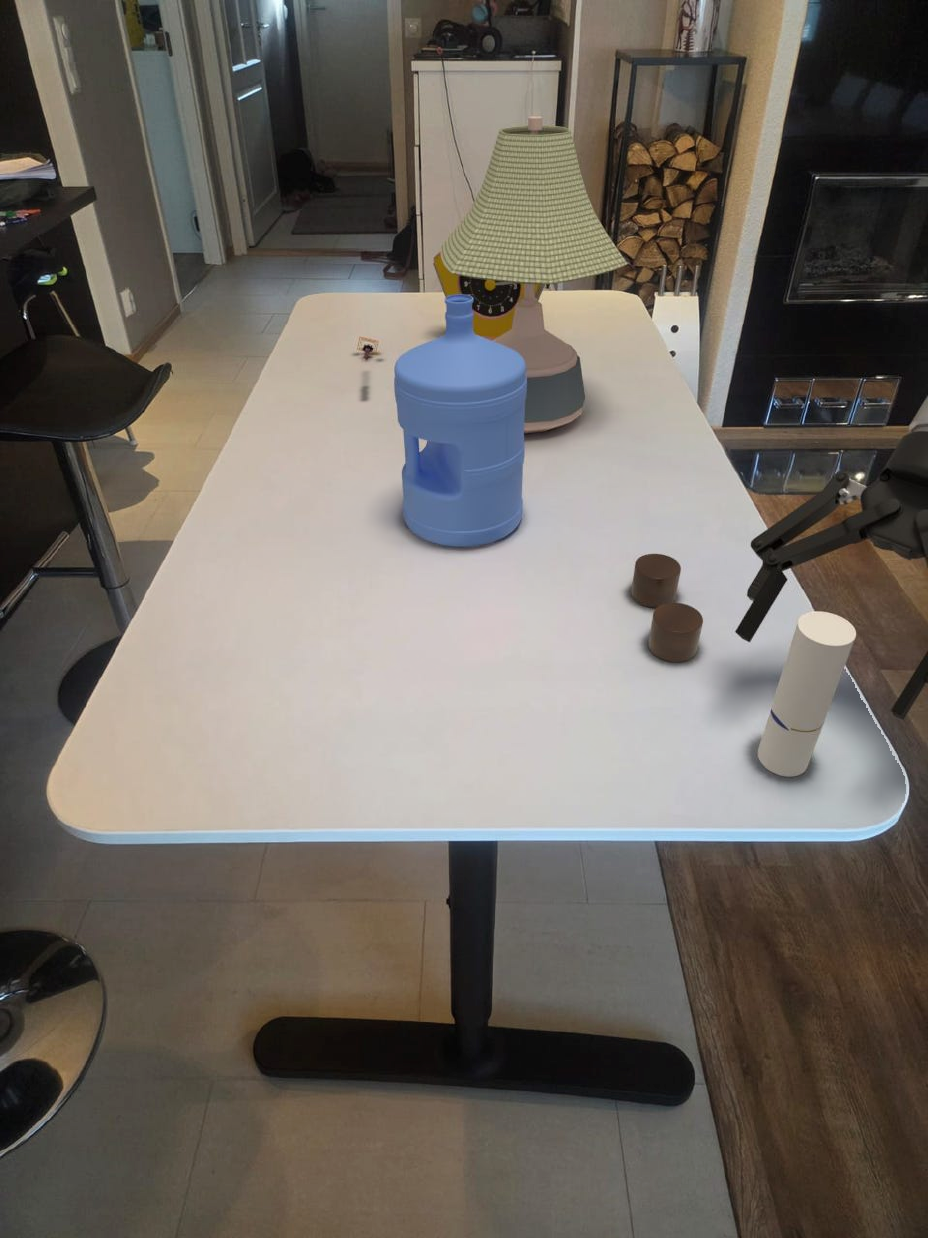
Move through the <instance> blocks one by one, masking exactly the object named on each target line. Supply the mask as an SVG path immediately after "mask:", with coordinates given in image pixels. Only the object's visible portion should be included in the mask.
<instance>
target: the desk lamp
mask: <svg viewBox="0 0 928 1238" xmlns="http://www.w3.org/2000/svg"><path fill="white" fill-rule="evenodd" d="M578 159H579V158H578V155H577V151H576V146H575V142H574V137H573V134H572V130H571V129H569V128H567V127H564V126H557V125H543V117H542V116H528V118H527V125H518V126H509V127H503V128H500V129H499V130H498V133H497V136H496V140H495V143H494V146H493V150H492V154H491V156H490V160H489V163H488V167H487V170H486V173H485V176H484V178H483V181H482V184H481V187H480V190H479V192H478V194H477V195H476V198H475V199H474V201H473V203H472V205H471V207H470V209H469V210H468V211H467V213H466V214H465V215H464V217H463V219H462V220H461V221H460V223H459V224H458V225H457V226H456V228H455V229H454V230H453V232H452V233H451V234H450V235H449V237H448V238H446V240H445V241H444V242H443V244H442V245H441V246H440V251H441V258H442V261H443V263H444V265H445V267H446V268H447V269H448V270H449V271H450V272H451V273H452V274H454V275H460V276H465V277H471V278H477V279H485V280H493V281H502V282H513V283H523V284H524V297H523V298H521V302H518V303H517V304H516V307H515V313H514V318H513V324H512V329H511V330H509V331H508V332H506V333H504V334H503V335H501V336H499V337H498V338H496V339H494V340H493V341H494V342H496V343H499V344H502V345H504V346H507V347H509V348H511V349H513V350H515V351H516V352H518V353H519V354H520V355H521V356H522V357H523V359H524V361H525V363H526V376H527V394H526V400H525V418H524V434H533V433H543V432H546V431H550V430H552V429H556V428H559V427H562V426H565V425H567V424H569V423H571V422H573V421H574V420H576V419H577V418H578V417H579V416H581V415H582V413H583V410H584V405H585V400H586V393H585V385H584V379H583V371H582V364H581V363H582V362H581V357H580V356H579V355H578V352H577V350H576V349H575V348H574V347H573V346H572V345H571V344H569V343H567V342H565V341H564V340H562V339H560V338H559V337H558V336H556V335H554V334H552V333H551V332H549V331H548V330H547V329H546V327H545V319H544V311H543V310H544V309H543V304H542V302H540V301H538V302H537V298H535V284H545V285H555V284H562V283H568V282H573V281H578V280H581V279H586V278H591V277H595V276H598V275H602V274H607V273H610V272H612V271H615V270H618V269H621V268H625V267H626V266H627V265H628V262H627V261H626V259H625V258H624V257H623V255H622V253H621V251H620V250H619V249H618V247H617V246H616V245H615V243H614V242H613V240H612V239H611V237H610V236H609V234H608V233H607V231H606V229H605V228H604V226H603V224H602V222H601V221H600V219H599V217H598V216H597V214H596V212H595V210H594V207H593V205H592V202H591V200H590V197H589V196H588V192H587V189H586V186H585V183H584V179H583V176H582V173H581V169H580V164H579V160H578Z"/></svg>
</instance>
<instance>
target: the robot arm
mask: <svg viewBox="0 0 928 1238" xmlns="http://www.w3.org/2000/svg"><path fill="white" fill-rule="evenodd" d="M855 500H858V501H859V502H860V505H861V506H860V507H861V511H860V512H857V513H855V514H852V515H850V516H848V517H846V518H845V519H843V520H842V521H841V522H839V523H837V524H834V525H833V526H830V527H826V528H825V529H822V530H820V531H817V532H814V533H813V534H811V535H808V536H805V537H803V538H801V539H798V540H796V541H794V542H792V541H793V540H794V539H796V538H797V537H799V536H800V535H802V534H803V533H805V532H806V531H807V530H809V529H811V528H812V527H813V526H815V525H816V524H818V523H819V522H820V521H822V520H823V519H825V518H826V517H828V516H829V515H831V514H832V513H833V512H834V511H836V510H837V509H838V508H839V507H840V506H841V505H842V506H845V505H848V504H850V503H851V502H853V501H855ZM866 540H869V542H870V543H872V545H873V547H875V548H878V549H880V550H883V551H890V552H894V553H895V554H897V555H898V556H900V557H901V558H903V559H906V560H909V561H912V560H918V559H919V560H921V559H924V560H925V564H926V568H927V569H928V395H926V398H925V399H924V401H923V403H922V404H921V406H920V407H919V409H918V410H917V412H916V413H915V416H914V417H913V418H912V420H911V422H910V424H909V425H908V433H907V434H905V435H904V436H902V437H901V439H900V441H899V442H898V444H897V445H896V447H895V448H894V451H893V452H892V454H891V456H890V457H889V458H888V461H887V462H886V464H885V465H884V466H883V468H882V470H881V472H880V474H879V475H878V478H877V479H876V480H874V481H873V482H872V483H871V484H869V485H868V486H867V485H865V484H863V483H860V482H858V481H856V480H854V479H852V478H850V475H849V473H848V472H847V471H845V470H839V471H837V472H836V473H835V474H834V475H833V476H832V477H831V479H830V480H829V482H827V484H826V485H825V487H824V488H823V489H822V490H821V491H820V492H818V493H816V494H815V495H814V496H813V497H811V498H809V499H808V500H807V501H805V502H804V503H802V504H801V505H800V506H799V507H797V508H795V509H794V510H793V511H790V513H788V514H787V515H785V516H784V517H782V518H781V519H780V520H778V521H777V522H776V523H774V524H773V525H771V526H770V527H769V528H767V529H765V530H764V531H763V532H761V533H760V534H758V535H757V536H755V537H754V538H753V539H752V540H751V541H750V547H751V549H752V551H753V552H754V553H755V555H756V556H757V557H758V558H759V559H760V560H761V561H762V565H761V567H760V569H759V570H758V571H757V574H756V575H755V577H754V578H753V580H752V582H751V583H750V584H749V587H748V588H747V590H746V591H747V592H746V597H747V598H748V599H749V600H750V601H752V603H751V604H750V605H749V608H748V609H747V610H746V613H745V614H744V616H743V617H742V619H741V621H740V623H739V624H738V626H737V628H736V629H735V631H734V632H735V633H736V635H738V637H740V638H741V639H742V640H744V641H745V642H748V643H751V642H752V639H753V638H754V636H755V634H756V633H757V632H758V629H759V628H760V627H761V624H762V623H763V621H764V620H765V618H766V617H767V616H768V615H767V614H768V613H769V611H770V610H771V608H772V606H773V605H774V603H775V601H776V600H777V598H778V597H779V595H780V593H781V591H782V589H783V588H784V586H785V585H786V583H787V581H788V578H787V576H786V575H785V573H784V571H787V570H789V569H792V568H794V567H797V566H800V565H802V564H804V563H806V562H807V563H808V562H809V561H812V560H815V559H816V558H819V557H822V556H824V555H827V554H829V553H831V552H834V551H836V550H839V549H842V548H844V547H847V546H849V545H856V544H859V543H861V542H864V541H866ZM926 684H928V650H927V651H926V653H925V654H924V656H923V658H922V659H921V660H920V662H919V664H918V666H917V667H916V668H915V670H914V672H913V674H912V675H911V676H910V678H909V680H908V681H907V683H906V685H905V687H904V689H902V692H901V693H900V695H899V697H897V700H896V701H895V703H894V704H893V706H892V708H891V709H890V711H891V714H892V715H893V716H894V717H896V718H899V719H900V720H901V721H904V719H905V718H906V716H907V715H908V713H909V711H910V710H911V708H912V707H913V705H914V704H915V702H916V700H917V698H918V697H919V696H920V693H921V692H922V690H923V689H924V688H925V686H926Z"/></svg>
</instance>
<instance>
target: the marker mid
mask: <svg viewBox="0 0 928 1238" xmlns="http://www.w3.org/2000/svg"><path fill="white" fill-rule="evenodd" d="M703 623H704V618H703V615H702V614H701V613H700V611H698V609H696V608H695V607H693V606H691V605H689V604H685V603H682V602H673V603H666V604H662V605H660V606H658V607H657V608H654V610H653V613H652V619H651V624H650V629H649V636H648V644H647V645H648V646H647V647H648V649H649V651H650V652H651V653H652V654H653V656H655V657H657V658H658V659H661V660H662V661H666V662H672V663H682V662H683V663H684V662H686V661H687V662H688V661H689V660H691V659H692V658H694V657H695V655H696V654H697V652H698V647H699V644H700V643H699V642H700V638H701V633H702V628H703Z"/></svg>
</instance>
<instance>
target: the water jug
mask: <svg viewBox="0 0 928 1238" xmlns="http://www.w3.org/2000/svg"><path fill="white" fill-rule="evenodd" d="M444 303H445V309H446V310H445V312H444V319H445V332H444V334H443V335H441V336H438V337H436V338H434V339H431V340H429V341H426V342H424V343H421V344H419V345H417V346H415V347H412V348H411V349H408V350H407V351H405V352H404V353H402V354H401V355H400V356H399V357H398V358H397V360H396V361H395V364H394V371H393V372H394V379H393V389H394V398H395V403H396V413H397V422H398V424H399V427H400V428H401V429H402V431H403V445H404V462H405V463H404V464H403V466H402V469H401V485H402V497H403V498H402V513H403V514H402V515H403V519H404V522H405V525H406V526H407V527H408V529H409V530H410V531H411V532H412V533H414V534H415V535H416V536H418V537H419V538H421V539H423V540H425V541H427V542H430V543H433V544H435V545H441V546H446V547H452V548H453V547H457V548H466V547H467V548H469V547H470V548H471V547H477V546H483V545H487V544H491V543H494V542H497V541H499V540H501V539H503V538H505V537H507V536H509V535H510V534H511V533H512V532H513V531H515V529H516V528H517V527H518V526H519V524H520V522H521V520H522V518H523V511H524V508H523V506H524V499H523V478H524V477H523V476H524V475H523V473H524V463H525V454H526V453H525V451H526V450H525V448H526V446H525V444H526V443H525V433H524V418H525V400H526V394H527V376H526V363H525V361H524V359H523V357H522V356H521V355H520V354H519V353H518V352H516V351H515V350H513V349H511V348H509V347H507V346H504V345H502V344H499V343H496V342H494V341H491V340H489V339H486V338H483V337H481V336H478V335H476V334H475V333H474V331H473V318H474V317H473V312H472V303H473V297H472V296H469V295H464V294H456V295H450V296H447V297H444ZM420 440H423V441H426V443H425V446H424V448H423V449H421V450H420Z"/></svg>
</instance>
